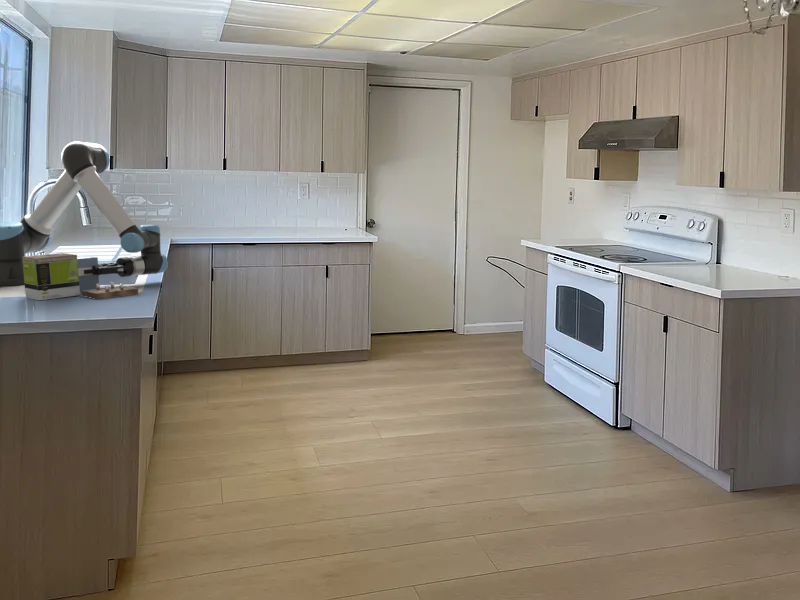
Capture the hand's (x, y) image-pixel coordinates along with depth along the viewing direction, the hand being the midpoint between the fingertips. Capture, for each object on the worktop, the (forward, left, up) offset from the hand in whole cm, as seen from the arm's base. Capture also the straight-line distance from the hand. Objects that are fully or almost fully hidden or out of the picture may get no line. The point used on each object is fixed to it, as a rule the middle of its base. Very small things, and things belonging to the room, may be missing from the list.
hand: (71, 272), depth 278 cm
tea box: (+12, 0, -8) cm, 14 cm away
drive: (-5, +3, -7) cm, 9 cm away
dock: (+4, +17, -7) cm, 19 cm away
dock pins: (+4, +17, -5) cm, 18 cm away
